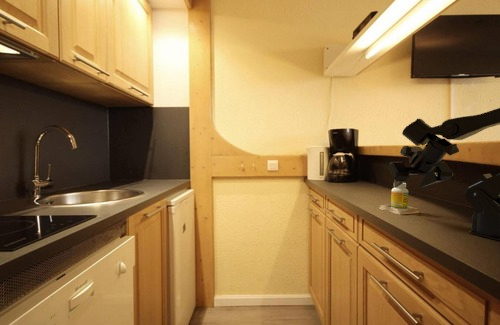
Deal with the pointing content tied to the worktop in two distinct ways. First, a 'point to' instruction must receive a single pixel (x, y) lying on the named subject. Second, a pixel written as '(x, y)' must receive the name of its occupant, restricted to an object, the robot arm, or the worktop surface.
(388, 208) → the tray
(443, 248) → the worktop surface
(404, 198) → the supplement bottle
